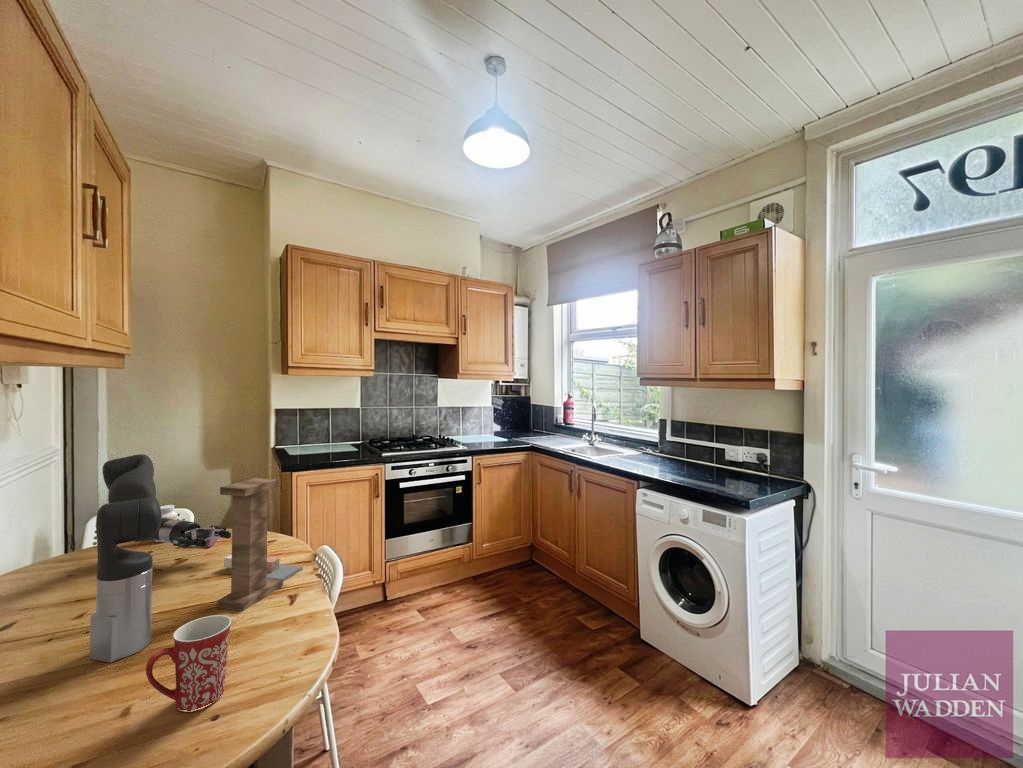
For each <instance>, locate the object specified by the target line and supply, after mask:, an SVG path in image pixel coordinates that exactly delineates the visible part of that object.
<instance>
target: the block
mask: <svg viewBox="0 0 1023 768" xmlns="http://www.w3.org/2000/svg"><path fill="white" fill-rule="evenodd" d="M279 564H280V558H279V557H271V556H267V572H270V573H272V572H274V571H275V570H277V569H279ZM223 568H229V569H232V553H231V554H229V555H227V556H225V557H223Z"/></svg>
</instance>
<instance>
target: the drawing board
mask: <svg viewBox="0 0 1023 768" xmlns="http://www.w3.org/2000/svg"><path fill="white" fill-rule="evenodd" d="M303 569H304V567H303V566H300V565H292V564H284V563H279V569H277V570H275V571H274V572H272V573H270V572H267V578H275V579H283V582H285V581H286V580H288V579H289V578H292V577H293V576H294V575H296V574H298V573H300V572H302V571H303Z"/></svg>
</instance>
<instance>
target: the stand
mask: <svg viewBox="0 0 1023 768" xmlns="http://www.w3.org/2000/svg"><path fill="white" fill-rule="evenodd" d="M279 483H280V479H277V478H263V477H255V478H251V479H247V480H243V481H239V482H235V483H232V484H228V485H224V486H220V487H219V489H220V490H219V495H222V496H232V511H231V513H232V516H231V518H232V519H231V520H232V521H231V554H232V568H230V569H231V571H230V572H231V573H230V574H231V576H230V577H231V578H230V579H231V580H230V583H231V584H230V586H231V587H230V593H228V594H226V595H224V596H223V597H221V598H219V599H218V600H217V608H218V609H219V608H220V609H226V610H227V609H228V610H235V611H240V610H241V612H244V611H245V610H247V609H248V608H251V607H252V606H254V605H255V604H257V603H258V602H260V601H262V600H263V599H265V598H266V597H268V596H270V595H271V594H273V593H274V592H275V591H277V590H279V589H281V588H282V587H283V585H284V581H283V579H275V578H267V558H268V518H269V517H268V516H269V515H268V514H269V511H268V510H269V509H268V507H269V500H268V499H269V496H268V495H269V490H270V489H274V488H277V487H279Z"/></svg>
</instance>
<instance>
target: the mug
mask: <svg viewBox="0 0 1023 768" xmlns="http://www.w3.org/2000/svg"><path fill="white" fill-rule="evenodd" d="M231 625H232V619H231V618H230V617H229V616H228V615H223V614H215V615H209V616H203V617H200V618H196V619H194V620H191V621H188V622H187V623H184V624H183V625H181V626H180V627H178V628H177V629H176V630H175V631H174V633H173V634H172V640H173V641H174V642H173V643H174V645H173V646H171V647H163V648H162V649H159V650H157V651H155V652H154V653H153V654H152V655H150V657H149V658H148V660H147V663H146V667H145V674H146V678H147V680H148V682H149V684H151V686H152V687H153V689H155V690H156V691H157V692H159V693H161V694H162V695H163V696H166V697H167V698H169V699H172V700H174V701H176V702H175V704H176V709H177V708H179V709H180V710H187V711H191V710H195V709H198V708H201V707H203V706H206V705H208V704H210V703H213V702H214V701H216V700H217V699H218V698H219V697H220V696H221V695H222V694H224V693H223V692H225V688H226V686H225V685H226V674H227V665H228V652H229V641H230V632H231V631H230V629H231ZM163 656H169V657H170V658H171V660H172V663H175V664H174V665H175V686H176V687H175V688H174V689H170V688H167V687H166V686H164V685H163V684H161V683H160V682H159V681H157V679H156V678H155V676H154V674H153V669H154V668H153V667H154V665H155V663H156V662H157V660H158V659H160V658H161V657H163ZM222 696H223V695H222ZM222 696H221V697H222ZM216 702H217V701H216Z"/></svg>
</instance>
